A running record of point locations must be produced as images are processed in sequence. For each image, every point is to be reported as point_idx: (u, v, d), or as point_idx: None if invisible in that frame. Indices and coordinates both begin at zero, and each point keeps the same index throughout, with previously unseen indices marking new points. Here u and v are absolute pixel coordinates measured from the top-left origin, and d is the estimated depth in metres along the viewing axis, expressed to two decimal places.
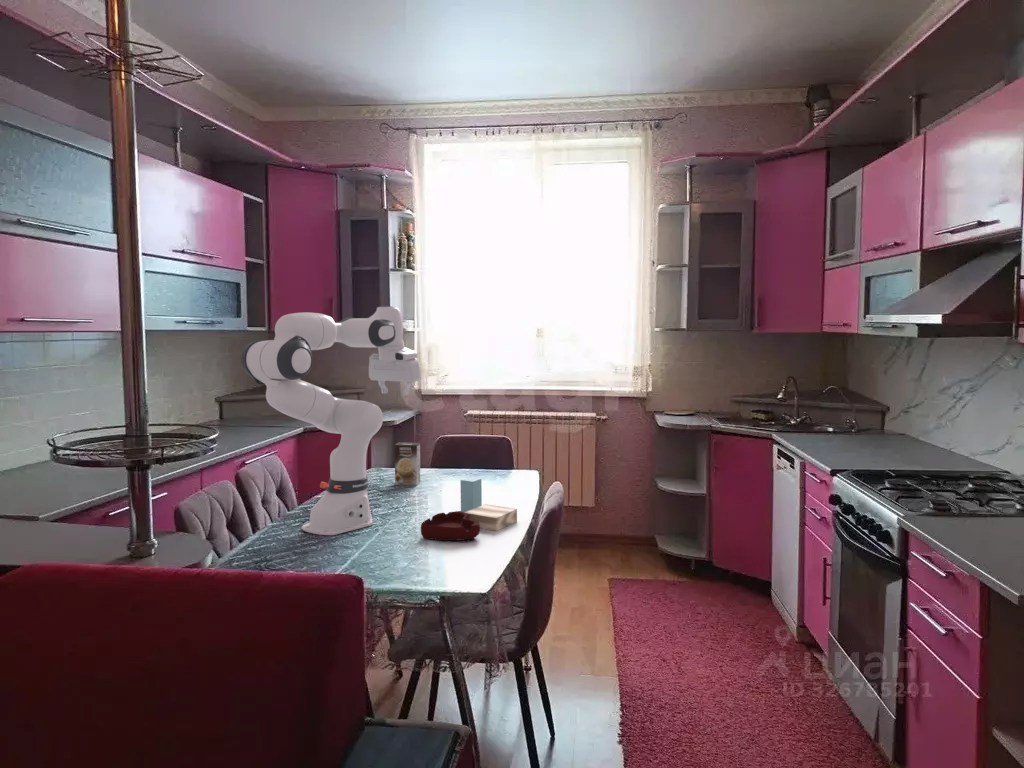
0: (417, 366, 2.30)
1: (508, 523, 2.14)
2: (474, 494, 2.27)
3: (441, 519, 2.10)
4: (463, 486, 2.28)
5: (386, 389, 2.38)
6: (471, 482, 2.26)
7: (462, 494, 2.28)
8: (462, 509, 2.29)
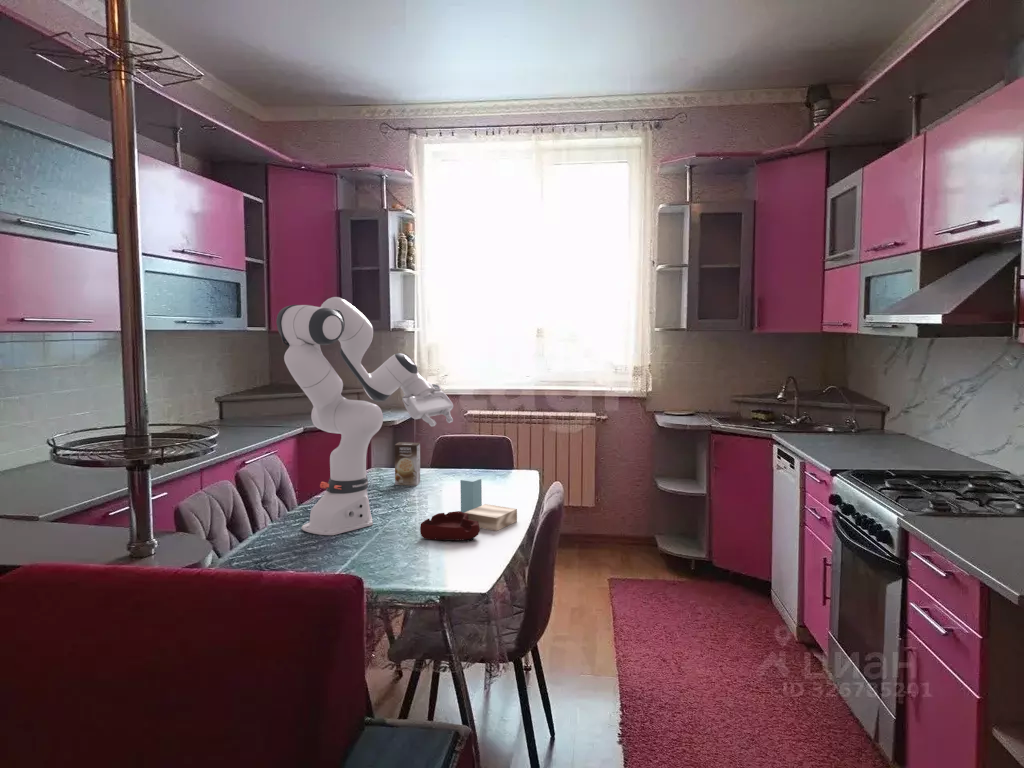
0: None
1: (508, 523, 2.14)
2: (474, 494, 2.27)
3: (441, 519, 2.10)
4: (463, 486, 2.28)
5: None
6: (471, 482, 2.26)
7: (462, 494, 2.28)
8: (462, 509, 2.29)
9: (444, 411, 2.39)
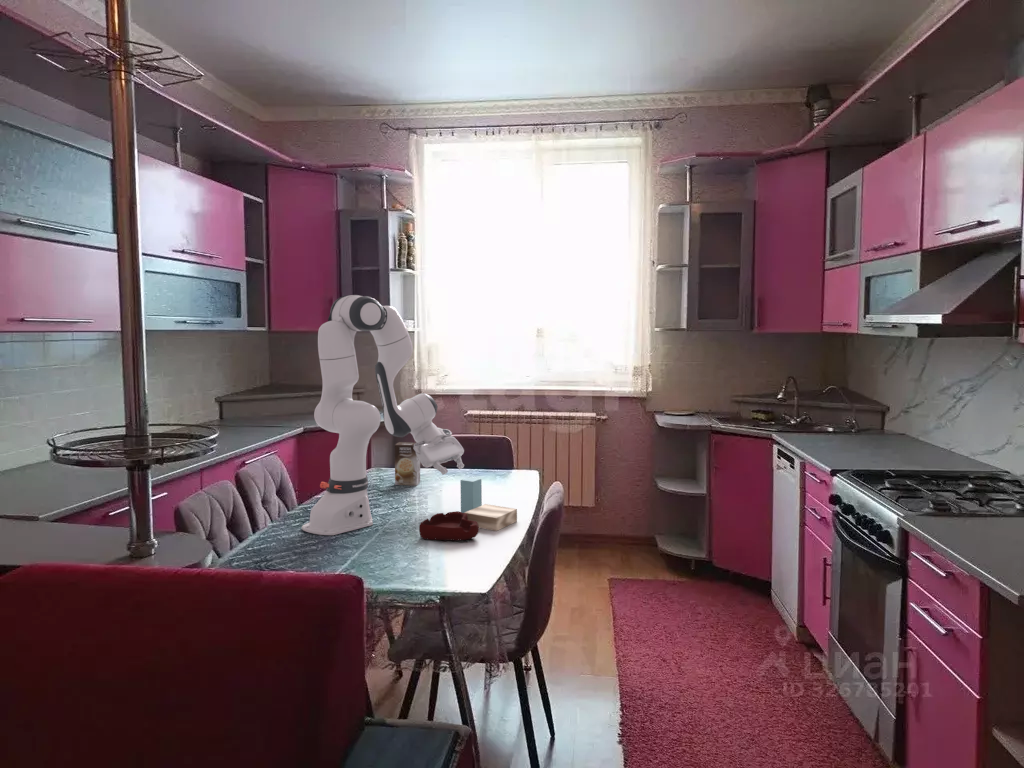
0: None
1: (508, 523, 2.14)
2: (474, 494, 2.27)
3: (440, 519, 2.10)
4: (463, 486, 2.28)
5: None
6: (471, 482, 2.26)
7: (462, 494, 2.28)
8: (462, 509, 2.29)
9: (455, 457, 2.39)
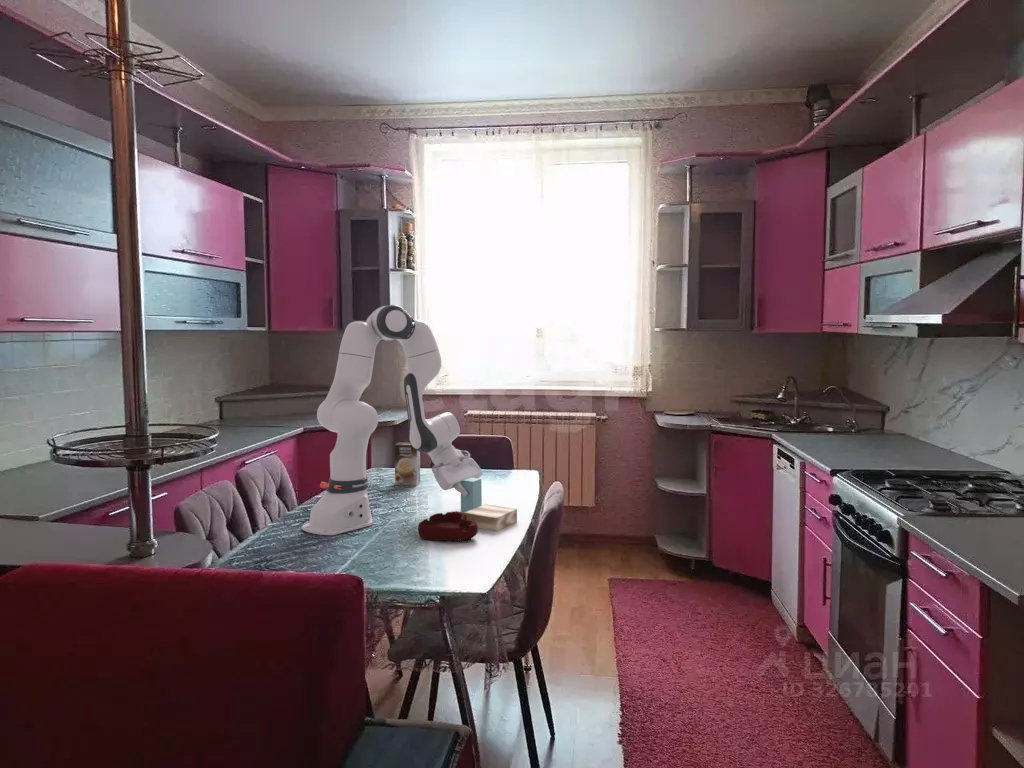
0: None
1: (508, 523, 2.14)
2: (474, 494, 2.27)
3: (439, 519, 2.10)
4: (463, 486, 2.28)
5: None
6: (471, 482, 2.26)
7: None
8: (462, 509, 2.29)
9: None
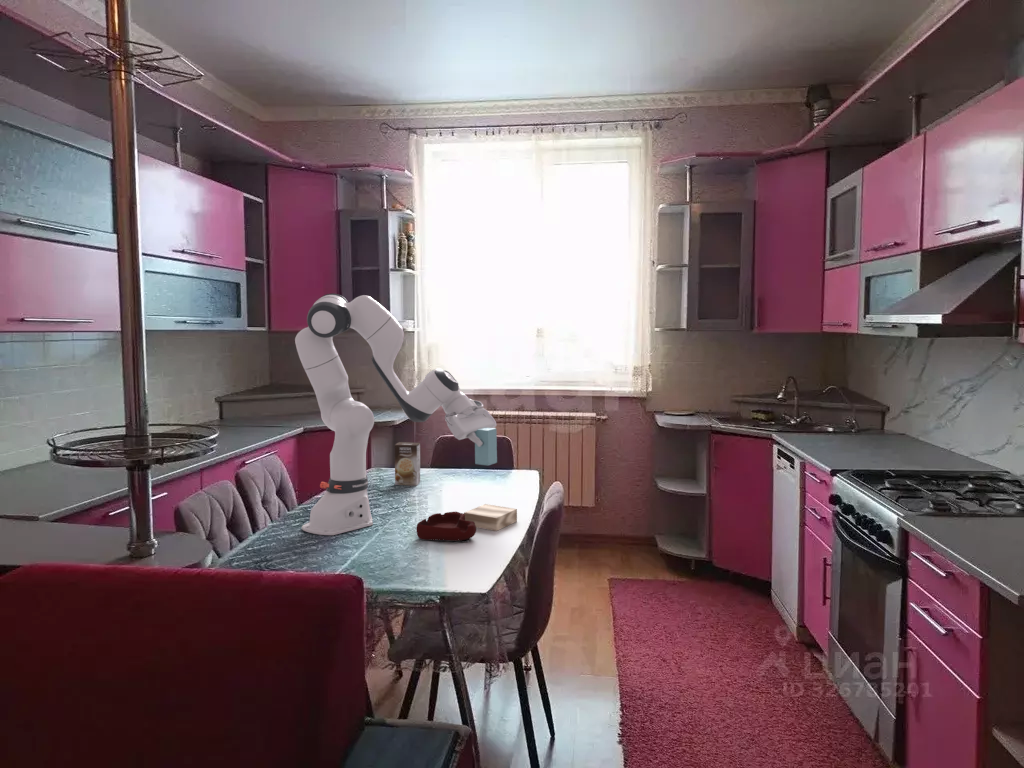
0: None
1: (508, 523, 2.14)
2: (489, 444, 2.15)
3: (437, 520, 2.10)
4: (477, 436, 2.16)
5: None
6: (486, 431, 2.15)
7: (476, 444, 2.17)
8: (476, 460, 2.17)
9: None
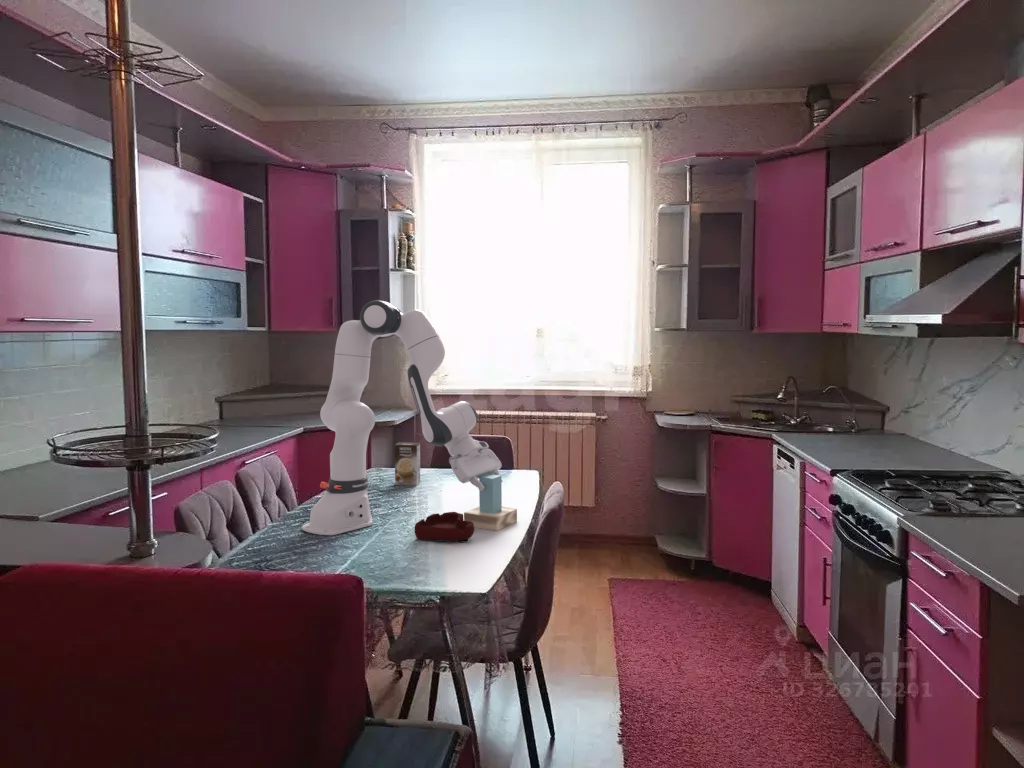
0: None
1: (508, 523, 2.14)
2: (494, 492, 2.13)
3: (435, 520, 2.09)
4: None
5: None
6: (491, 479, 2.12)
7: (481, 492, 2.14)
8: (481, 508, 2.15)
9: (492, 471, 2.21)
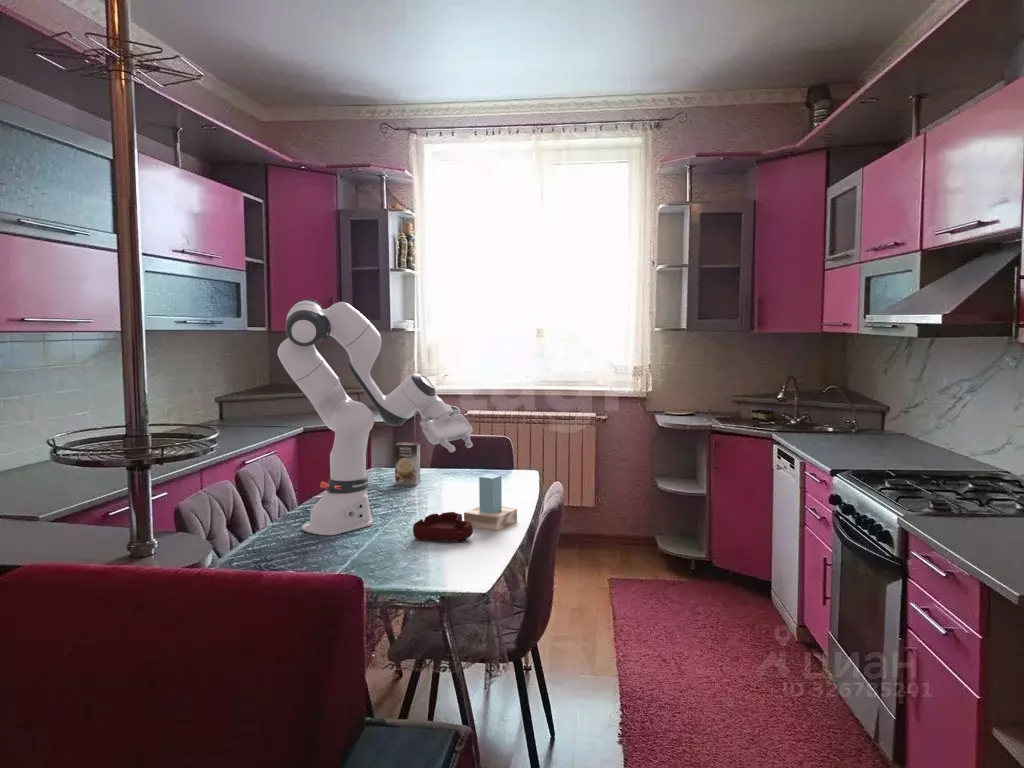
0: None
1: (508, 523, 2.14)
2: (494, 492, 2.13)
3: (434, 520, 2.09)
4: (482, 483, 2.14)
5: None
6: (491, 479, 2.12)
7: (481, 492, 2.14)
8: (481, 508, 2.15)
9: (463, 435, 2.26)
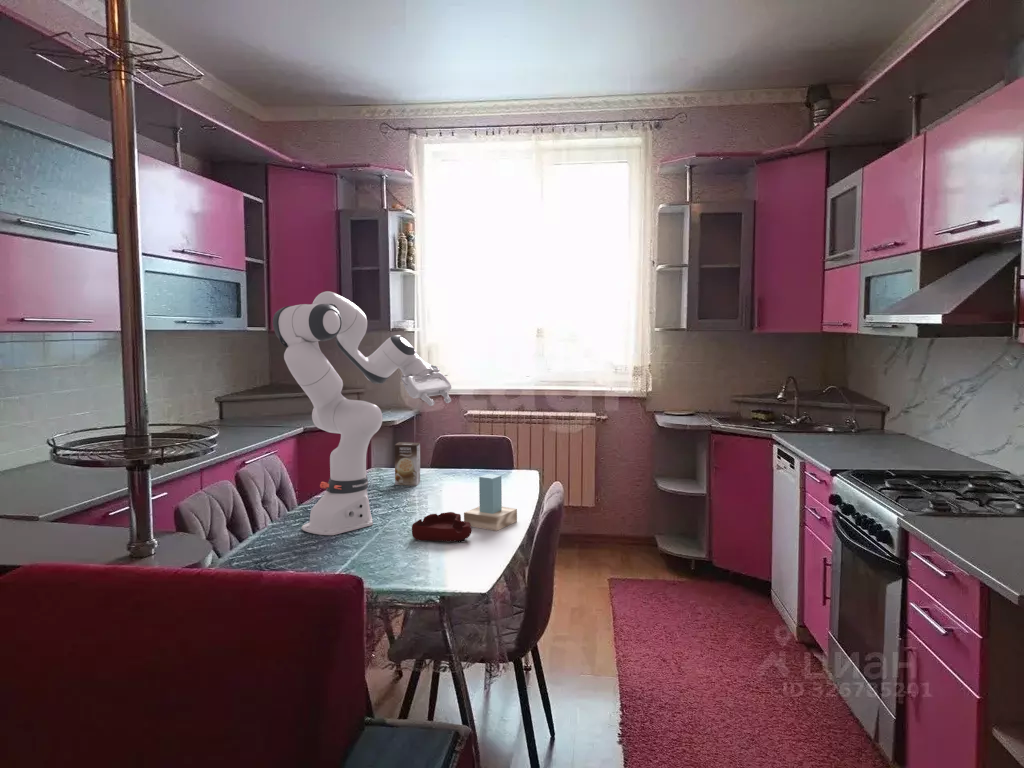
0: None
1: (508, 523, 2.14)
2: (494, 492, 2.13)
3: (433, 520, 2.09)
4: (482, 483, 2.14)
5: None
6: (491, 479, 2.12)
7: (481, 492, 2.14)
8: (481, 508, 2.15)
9: (442, 391, 2.43)
